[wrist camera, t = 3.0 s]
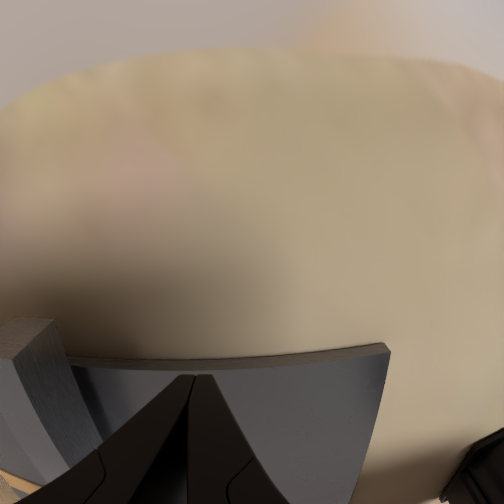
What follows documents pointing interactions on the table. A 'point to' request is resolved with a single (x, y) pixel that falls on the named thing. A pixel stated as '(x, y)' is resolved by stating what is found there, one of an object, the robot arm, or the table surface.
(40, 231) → the table surface
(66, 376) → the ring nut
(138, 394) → the plate
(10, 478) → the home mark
